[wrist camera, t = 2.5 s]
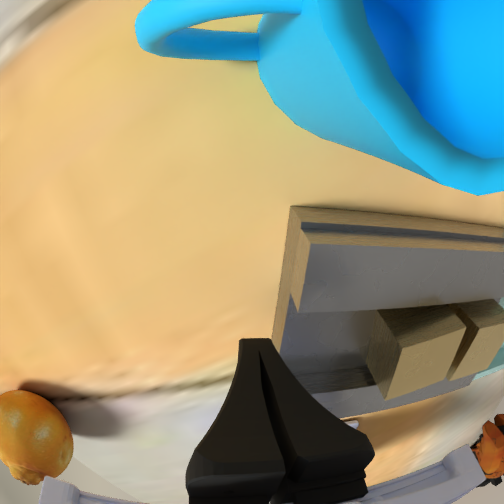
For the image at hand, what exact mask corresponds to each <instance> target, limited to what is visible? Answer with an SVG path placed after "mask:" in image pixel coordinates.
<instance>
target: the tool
mask: <svg viewBox="0 0 504 504" xmlns="http://www.w3.org/2000/svg"><path fill="white" fill-rule="evenodd" d="M494 421H495V424H494V423H492V422H490V421H487V422H486V423H485V424H484V425H483V427H482V429H483V434H482V435H481V436H480V442H479V443H478V444H477V445H475V446H474V448H473V449H471V450H472V452H473V454H474V456H475V458H476V459H477V461H478V463H479V465H480V467H481V469H482V471H483V473H484V475H485V477H486V480H485V481H483V482H482V483H481V484H479V485H478V486H477V487H482V486H485V485H487V484H488V483H490V482H491V483H492V484H493V485H495V486H497V485H498V484H500V483H501V482H502V479H501V476H502V475H504V414H497V415H496V416H495V417H494Z"/></svg>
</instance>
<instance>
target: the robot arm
mask: <svg viewBox="0 0 504 504" xmlns="http://www.w3.org/2000/svg"><path fill="white" fill-rule="evenodd" d="M358 426H359V423H358V421H357V420H353V421H348V422H343V421H342V420H340V419H339V418H337V417H336V416H335V415H334V414H332V413H331V412H330V411H328V410H327V409H326V408H325V407H323V406H322V405H321V404H320V403H319V402H318V401H317V400H316V399H315V398H314V397H313V396H312V395H311V394H310V393H309V392H308V391H307V390H306V389H305V388H304V387H303V386H302V385H301V383H300V382H299V381H298V380H297V379H296V377H295V376H294V375H293V373H292V372H291V371H290V369H289V368H288V367H287V365H286V364H285V362H284V361H283V359H282V358H281V356H280V355H279V353H278V351H277V350H276V348H275V346H274V345H273V343H272V341H271V339H269V338H248V339H241V340H239V351H238V363H237V367H236V371H235V375H234V378H233V381H232V384H231V387H230V389H229V392H228V394H227V397H226V399H225V401H224V404H223V406H222V408H221V410H220V411H219V413H218V415H217V417H216V419H215V421H214V422H213V424H212V425H211V427H210V429H209V430H208V432H207V433H206V435H205V436H204V438H203V439H202V440H201V442H200V443H199V444H198V446H197V447H196V448H195V450H194V453H193V455H192V457H191V459H190V462H189V464H188V467H187V470H186V489H187V492H188V495H189V504H269V502H270V504H451V503H453V502H455V501H457V500H458V499H460V498H461V497H463V496H464V495H466V494H467V493H468V492H470V491H471V490H473V489H474V488H475V487H477V486H478V485H479V484H481V483H482V482H483V481H485V480H486V477H485V475H484V473H483V471H482V469H481V467H480V465H479V463H478V461H477V459H476V458H475V456H474V454H473V452H472V450H471V448H470V446H469V445H468V444H466V445H464V446H462V447H460V448H458V449H456V450H454V451H452V452H450V453H449V454H448V455H446V456H445V457H444V458H443V460H442V461H440V462H437V463H435V464H433V465H430V466H428V467H425V468H423V469H420V470H418V471H415V472H412V473H410V474H407V475H404V476H401V477H398V478H395V479H392V480H389V481H386V482H383V483H380V484H377V485H373V486H370V487H367V486H366V483H365V480H364V478H365V477H366V474H365V471H364V469H365V468H366V467H367V465H368V464H369V463H370V462H371V461H372V459H373V458H374V456H375V452H374V450H373V447H372V445H371V443H370V441H369V439H368V438H367V436H366V434H364V433H362V432H360V431H358V430H356V429H357V427H358ZM39 504H148V503H139V502H133V501H127V500H121V499H115V498H110V497H105V496H100V495H96V494H91V493H87V492H84V491H80V490H79V489H78V488H77V487H76V486H75V485H73V484H71V483H69V482H66V481H62V480H59V479H56V478H53V477H50V476H45V477H44V481H43V486H42V490H41V494H40V499H39Z"/></svg>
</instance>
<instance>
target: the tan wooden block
mask: <svg viewBox="0 0 504 504" xmlns="http://www.w3.org/2000/svg"><path fill="white" fill-rule="evenodd" d="M448 307H449V308H450V309H451V310H452V311H453V312H454V314H455V315H456V316H457V317H458V318H459V319H460V320H461V321H462V322H463V324H464V325H465V326H466V330H465V333H464V335H463V338H462V340H461V343H460V345H459V347H458V350H457V352H456V354H455V357H454V359H453V361H452V363H451V366H450V368H449V370H448V372H447V374H446V376H445V377H446V378H447V380H448V381H452V380H456V379H459V378H462V377H465V376H468V375H471V374H474V373H477V372H479V371H482V370H485V369H487V368H488V367H489V365H490V364H491V362H492V360H493V359H494V357H495V356H496V354H497V352H498V351H499V349H500V347H501V346H502V344H503V342H504V308H503V307H501V306H500V305H499V304H498V303H497V302H496V301H495V300H494V299H486V300H478V301H470V302H461V303H451V304H448Z"/></svg>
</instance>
